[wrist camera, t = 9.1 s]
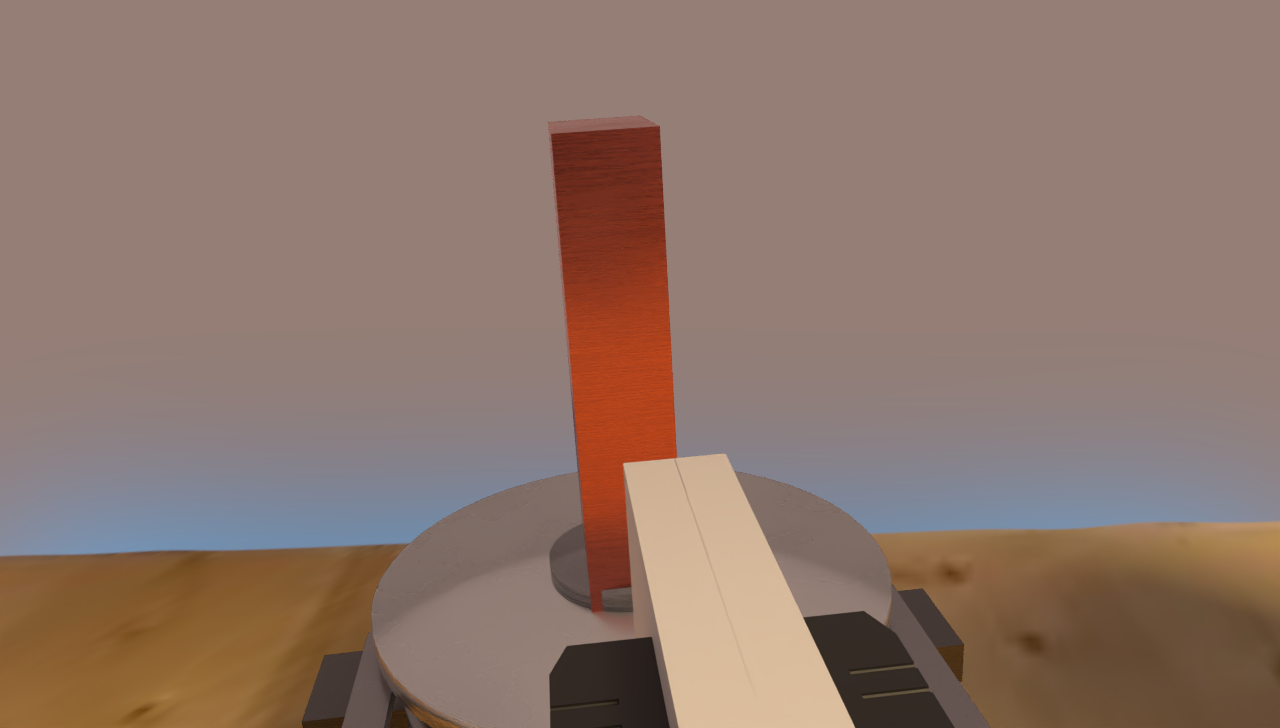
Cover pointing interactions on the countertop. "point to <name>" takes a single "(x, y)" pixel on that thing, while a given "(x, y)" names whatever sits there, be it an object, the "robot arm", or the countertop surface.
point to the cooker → (380, 724)
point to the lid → (587, 479)
